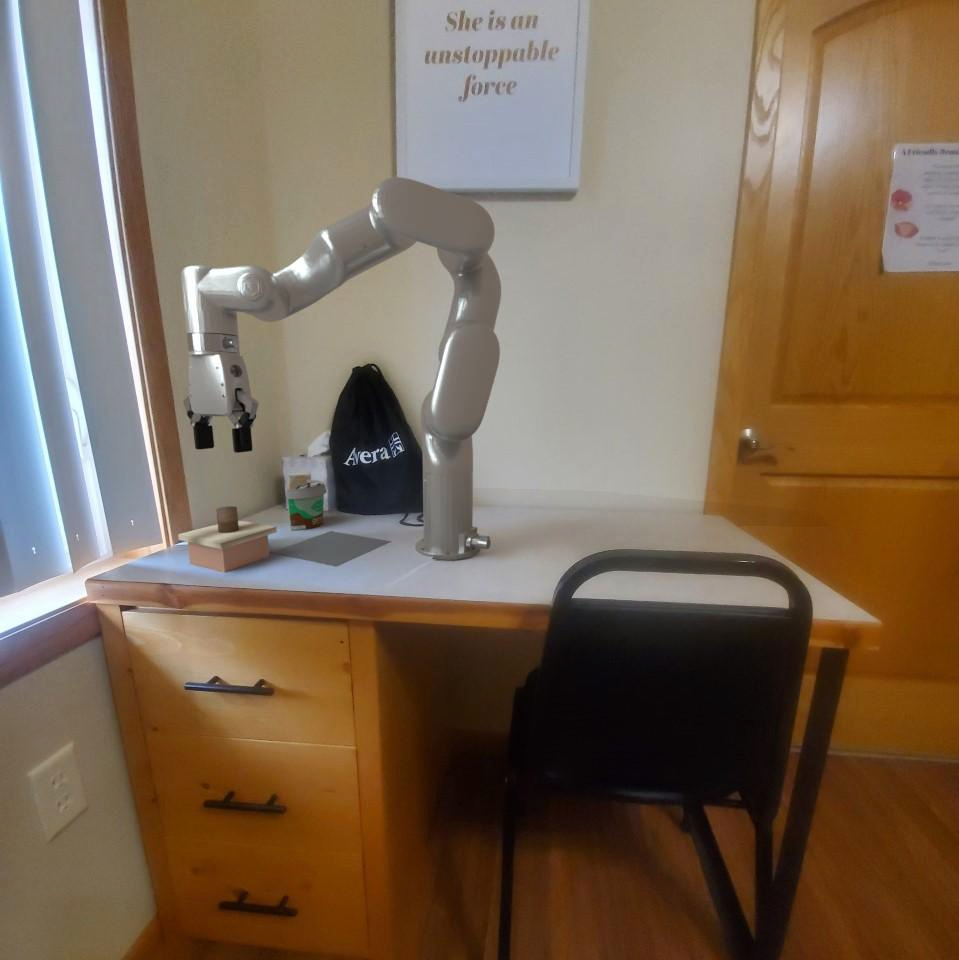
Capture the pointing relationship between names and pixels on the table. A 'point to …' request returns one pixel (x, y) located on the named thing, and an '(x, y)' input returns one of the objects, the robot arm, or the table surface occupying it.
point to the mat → (331, 548)
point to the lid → (227, 531)
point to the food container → (306, 505)
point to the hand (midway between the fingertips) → (223, 450)
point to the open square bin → (229, 554)
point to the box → (297, 480)
